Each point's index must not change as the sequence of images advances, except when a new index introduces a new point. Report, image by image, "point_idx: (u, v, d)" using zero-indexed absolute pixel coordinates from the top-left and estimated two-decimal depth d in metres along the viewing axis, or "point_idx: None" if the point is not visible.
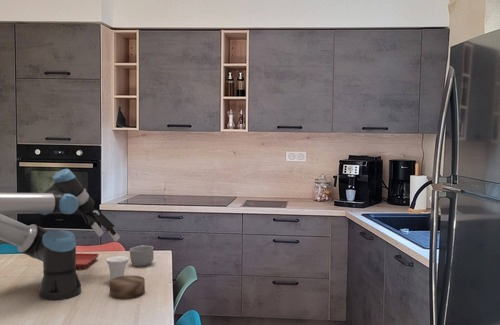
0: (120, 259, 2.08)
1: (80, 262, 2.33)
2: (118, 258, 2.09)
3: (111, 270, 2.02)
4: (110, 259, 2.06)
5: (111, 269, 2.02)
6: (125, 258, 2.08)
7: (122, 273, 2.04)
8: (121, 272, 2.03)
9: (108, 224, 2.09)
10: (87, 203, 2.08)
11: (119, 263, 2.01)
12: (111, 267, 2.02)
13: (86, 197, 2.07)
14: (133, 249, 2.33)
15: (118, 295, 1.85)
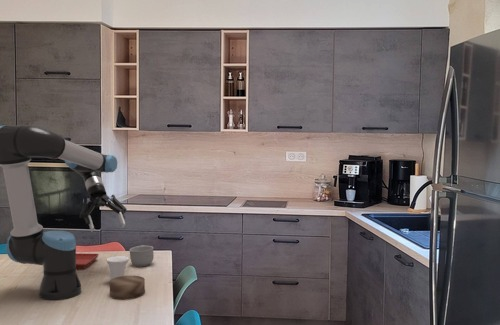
0: (120, 259, 2.08)
1: (80, 262, 2.33)
2: (118, 258, 2.09)
3: (111, 270, 2.02)
4: (110, 259, 2.06)
5: (111, 269, 2.02)
6: (125, 258, 2.08)
7: (122, 273, 2.04)
8: (121, 272, 2.03)
9: None
10: None
11: (119, 263, 2.01)
12: (111, 267, 2.02)
13: None
14: (133, 249, 2.33)
15: (118, 295, 1.85)
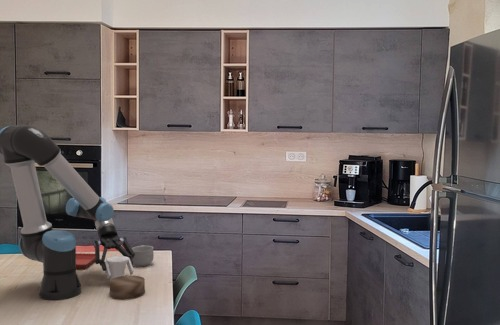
0: (120, 259, 2.08)
1: (80, 262, 2.33)
2: (118, 258, 2.09)
3: (111, 270, 2.02)
4: (110, 259, 2.06)
5: (111, 269, 2.02)
6: (125, 258, 2.08)
7: (122, 273, 2.04)
8: (121, 272, 2.03)
9: None
10: None
11: (119, 263, 2.01)
12: (111, 267, 2.02)
13: None
14: (133, 249, 2.33)
15: (118, 295, 1.85)
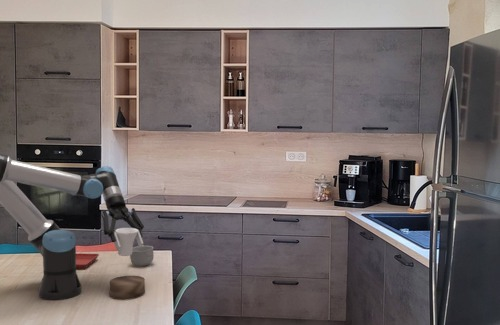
0: (129, 231, 2.02)
1: (80, 262, 2.33)
2: (127, 229, 2.02)
3: (120, 241, 1.96)
4: (119, 230, 1.99)
5: (120, 241, 1.96)
6: (134, 230, 2.01)
7: (131, 245, 1.97)
8: (130, 244, 1.97)
9: None
10: None
11: (129, 235, 1.94)
12: (120, 238, 1.95)
13: None
14: (133, 249, 2.33)
15: (118, 295, 1.85)
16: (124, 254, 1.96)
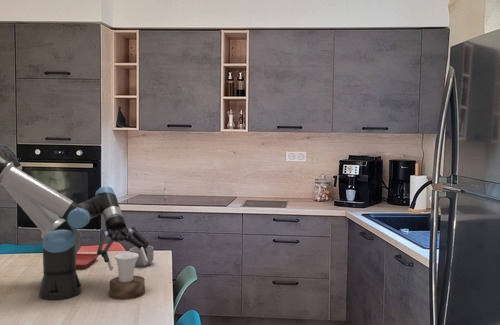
0: (129, 255, 1.94)
1: (80, 262, 2.33)
2: (127, 254, 1.94)
3: (120, 267, 1.88)
4: (118, 255, 1.92)
5: (120, 266, 1.88)
6: (135, 254, 1.93)
7: (131, 271, 1.89)
8: (130, 270, 1.89)
9: None
10: None
11: (128, 260, 1.86)
12: (120, 264, 1.87)
13: None
14: (133, 249, 2.33)
15: (118, 295, 1.85)
16: (124, 280, 1.88)
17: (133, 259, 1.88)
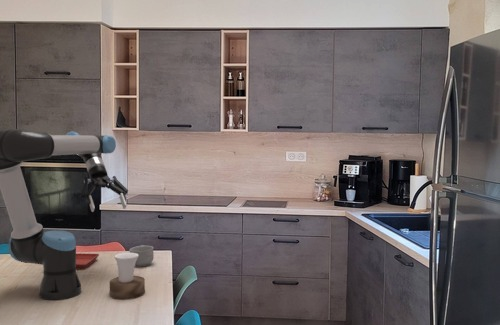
0: (129, 256, 1.94)
1: (80, 262, 2.33)
2: (127, 255, 1.94)
3: (120, 267, 1.88)
4: (118, 256, 1.92)
5: (120, 266, 1.88)
6: (134, 255, 1.93)
7: (131, 271, 1.90)
8: (130, 270, 1.89)
9: None
10: None
11: (128, 260, 1.87)
12: (120, 264, 1.88)
13: None
14: (133, 249, 2.33)
15: (118, 295, 1.85)
16: (124, 280, 1.88)
17: (133, 259, 1.88)
